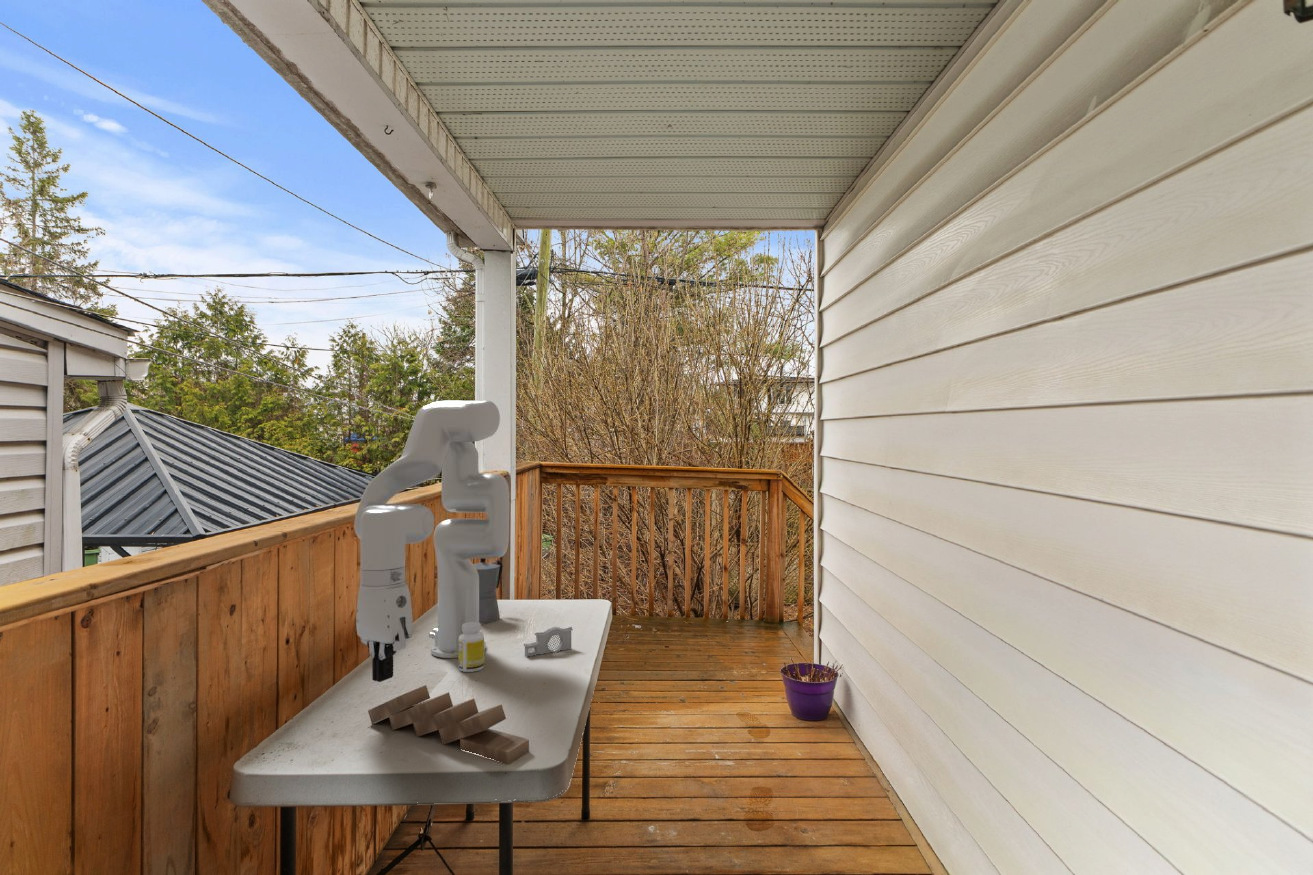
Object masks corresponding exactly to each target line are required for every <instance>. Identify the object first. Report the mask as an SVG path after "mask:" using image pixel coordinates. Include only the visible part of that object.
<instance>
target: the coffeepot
mask: <svg viewBox="0 0 1313 875" xmlns="http://www.w3.org/2000/svg"><path fill="white" fill-rule="evenodd" d="M486 561H487V558H480V562H477V563H473V565H474V566H475V568H476V570H477V572H478V575H479V623H483V624H489V623H488V622H490V623H493V622H492V621H494V622H496V620H497V621H499V620H500V617H501V616H500V615H501V614H500V611H499V605H498V599H497V596H496V591H497V589H499V587H500V582H501V577H502V572H503V564H502V561H500V559H499V560H493V561H490V562H486Z"/></svg>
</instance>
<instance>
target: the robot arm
mask: <svg viewBox="0 0 1313 875" xmlns="http://www.w3.org/2000/svg"><path fill="white" fill-rule="evenodd" d="M500 415H501V414H500V411H499V408H498V406H497V405H496V403H494V401H491V400H477V399H476V400H455V399H454V400H452V399H451V400H450V399H449V400H439V401H434V402H431V403H429V404H426V405H423V406H422V407H421V408H420V409H419V410H418V411H417V413H416V415H415V417H414V420H413V423H412V426H411V428H410V430H409V433H408V437H407V440H406V442H405V445H404V447H403V451H402V453H401V456H400V457H399V458H398V459H397V460H395V461H393V462H392V463H391V464H389V465H388V466H386V467H385V468H384V469H383V470H382V471H380V472H379V473H378V474H377V475H376V476H375V477H373V478H372V479H371V481H369V483H368V484H367V486H365V489H364V491H363V494H362V496H361V498H360V500H359V503H358V506H357V510H356V513H355V516H354V523H353V524H354V526H353V527H354V532H355V535H356V537H357V538H358V540H359V539H360V566H359V568H360V569H359V570H360V571H359V572H360V574H359V575H360V576H359V577H360V580H359V581H360V583H359V584H360V585H359V590H358V595H357V601H356V602H357V604H356V615H355V616H356V621H355V622H356V624H355V625H356V626H355V627H356V634H357V636H358V637H359V638H360V642H361V643H362V644H363V645H366V646H367V647H368V649H369V656H370V658H371V659H372V660H371V662H372V665H371V666H372V667H371V668H372V670H371V671H372V674H371V675H372V677H371V678H372V681H373V682H374V681H375V682H378V683H381V682H383V681H387V680H389V679H392V678H393V677H394V656H396V655H397V651H401V650H404V649H406V648H407V644H406V639H407V640H409V639H410V638H412V636H413V630H414V629H413V628H414V626H413V625H414V624H413V609H412V598H411V594H410V589H409V584H406V577H407V575H406V545H407V544H418V543H422V542H424V541H425V540H427V539H428V538H429V537H430V536H431V535H432V533H433V547H434V551H435V557H436V564H437V627H435V628H433V630H432V632H431V631H430V632H429V633H428V638H429V639H434V644H433V645H431V647H430V654H431V655H432V656H434V657H435V658H436V657H437V658H443V659H456V658H457V659H459V636H460V635H461V634H463V632H462V625H463V624H464V623H468V622H479V575H478V572H477V570H476V568H475V566H474V565H473V564H474V563H473V562H472V559H481V558H486V559H501V558H502V557H503V556H505V554H506V553H507V550H508V547H509V541H510V540H509V539H510V490H509V487H510V486H509V484H508V482H507V481H508V480H507V479H506V478H505V476H503V475H502V474H499V473H493V472H492V473H484V472H483V473H482V472H480V471H479V452H478V450H477V448H476V446H475V444H474V443H475V442H480V441H483V440H485V439H488V438H491V437H492V436H494V435H495V434H496V433H497V431H498V429H499V426H500V423H501V416H500ZM440 474H441V491H440V492H441V493H440V494H441V503H442V506H443V508H444V509H445V510H447V512H451V513H459V514H461V513H463V514H473V513H474V514H481V513H482V514H486V516H487V518H470V517H469V518H468V517H466V518H465V517H464V518H462V517H460V518H457V517H455V518H450V519H449V518H448V519H445V520H443V521H440V522H439V523H438V524H437V525H436V526H435V516H434V513H433V511H431V509H430V508H429V507H427V506H426V505H423V504H419V503H388V502H389V501H390V500H391V499H392V498H394V497H395V496H396V495H397V494H399V493H401V492H402V491H405V490H407V489H410V488H413V487H415V486H418V485H420V484H422V483H425V482H427V481H430V480H432V479H435V478H436V477H437V476H439V475H440ZM434 527H435V529H434ZM433 531H434V532H433ZM486 646H487V644H486V641H484V650H485V649H486Z"/></svg>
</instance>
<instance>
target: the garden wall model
mask: <svg viewBox="0 0 1313 875" xmlns="http://www.w3.org/2000/svg"><path fill="white" fill-rule="evenodd" d="M573 629H574V628H573V626H568V627H566V628H563V627H559V626H553V627H551V628H548V629H546V630H545V631H542V632H541V631H540V632H539V631H538V632H535V633H534V635H535V636H536V638H535V639H536V641H534V642H531V643H523V646H524V657H526V656H530V657H534V656H533V655H535V656H537V655H536V654H541V655H544V654H543V653H546V654H549V653H548V652H556V653H559V652H561V651H560V650H562V651H567V649H568V650H571V649H572V631H573ZM554 650H555V651H554ZM558 651H559V652H558Z"/></svg>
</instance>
